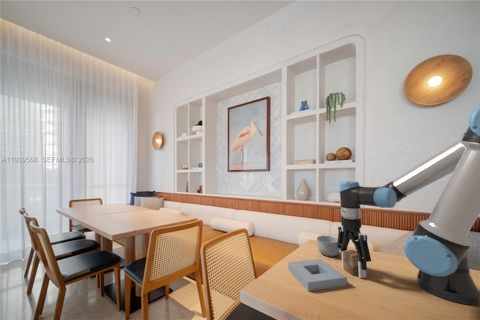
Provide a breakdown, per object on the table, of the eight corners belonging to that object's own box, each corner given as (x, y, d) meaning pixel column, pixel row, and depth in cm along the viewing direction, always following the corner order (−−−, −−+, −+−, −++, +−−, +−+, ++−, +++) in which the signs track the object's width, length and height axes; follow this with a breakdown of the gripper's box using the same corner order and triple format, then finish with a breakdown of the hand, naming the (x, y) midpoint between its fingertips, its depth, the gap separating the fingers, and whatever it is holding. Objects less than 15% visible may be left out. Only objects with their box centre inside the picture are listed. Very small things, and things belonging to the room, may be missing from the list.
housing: (347, 285, 71) (346, 277, 72) (308, 291, 68) (307, 282, 68) (321, 265, 87) (320, 258, 87) (288, 269, 84) (288, 262, 84)
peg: (363, 274, 79) (362, 254, 80) (353, 275, 78) (352, 255, 79) (354, 268, 84) (353, 249, 85) (344, 269, 83) (343, 251, 84)
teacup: (342, 259, 93) (342, 242, 94) (319, 257, 95) (318, 241, 96) (334, 248, 107) (334, 233, 107) (314, 247, 109) (313, 232, 110)
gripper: (327, 212, 93) (329, 261, 91) (363, 224, 72) (367, 287, 70) (340, 212, 94) (343, 259, 92) (380, 222, 73) (384, 284, 71)
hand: (353, 271), depth 81 cm, fingers open, 9 cm apart
